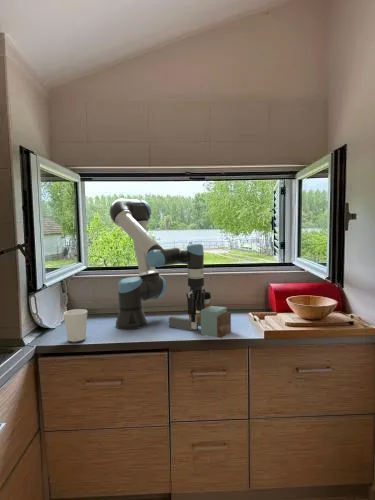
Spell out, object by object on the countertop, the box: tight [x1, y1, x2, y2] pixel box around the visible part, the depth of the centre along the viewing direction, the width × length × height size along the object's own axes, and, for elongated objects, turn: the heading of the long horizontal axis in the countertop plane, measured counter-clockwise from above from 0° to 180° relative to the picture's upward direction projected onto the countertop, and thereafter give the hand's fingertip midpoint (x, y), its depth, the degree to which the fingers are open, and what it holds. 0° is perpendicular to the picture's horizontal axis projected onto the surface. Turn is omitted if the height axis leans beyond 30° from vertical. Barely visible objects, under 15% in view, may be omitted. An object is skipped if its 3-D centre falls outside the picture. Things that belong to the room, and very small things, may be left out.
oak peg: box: [188, 310, 201, 322], centre depth 158 cm, size 14×4×4 cm, turn 58°
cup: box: [63, 308, 88, 344], centre depth 149 cm, size 10×10×13 cm
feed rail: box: [168, 315, 199, 332], centre depth 164 cm, size 15×2×4 cm, turn 58°
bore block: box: [200, 305, 228, 338], centre depth 155 cm, size 8×10×11 cm
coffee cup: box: [196, 291, 212, 310], centre depth 173 cm, size 8×8×15 cm
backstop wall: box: [216, 311, 232, 339], centre depth 152 cm, size 2×10×9 cm, turn 148°
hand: (196, 327), depth 160 cm, fingers closed on oak peg, 4 cm apart
